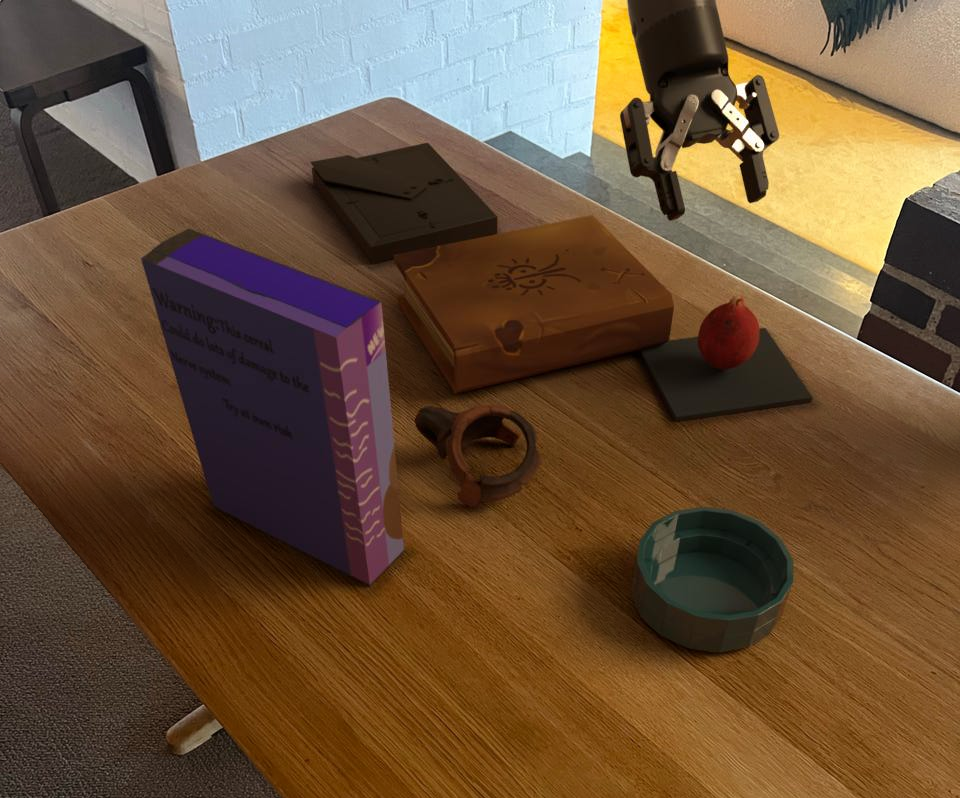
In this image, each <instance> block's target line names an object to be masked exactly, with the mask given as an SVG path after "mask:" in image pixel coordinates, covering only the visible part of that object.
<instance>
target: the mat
mask: <svg viewBox="0 0 960 798" xmlns="http://www.w3.org/2000/svg"><path fill="white" fill-rule="evenodd" d="M759 329H760V330H759V343H758V346H757V348H756V350H755V352H754V353H753V355H752V356H751V357H750V358H749V359H748V360H747V361H746V362H744V363H742V364H741V365H739V366H737V367H735V368H730V369H726V370H720V369H717V368H715V367H713V366H711V365H710V364H709V363H708V362H706V360H705V359H704V358H703V356H702V354H701V352H700V350H699V347H698V336H694V337H686V338H678V339H673V340H672V339H669V341H667V342H666V343H665V344H661V345H657V346H653V347H649V348H645V349H640V350H637V351H638V355H639V357H640V358H641V360H642V362H643V363H644V365H645V367H646V370H647V371H648V373H649V375H650V377H651V379H652V382H654V385H655V386H656V388H657V390H658V392H659V394H660V396H661V398H662V400H663V402H664V403H665V405H666V408H667V409H668V411H669V413H670V415H671V417H672V418H673V420H674V422H682V421H689V420H695V419H704V418H709V417H710V418H711V417H717V416H724V415H730V414H738V413H743V412H750V411H751V412H752V411H758V410H765V409H772V408H780V407H787V406H793V405H800V404H807V403H812V401H813V399H814V398H813V395H812V394H811V393H810V391H809V390H808V388H807V387H806V385H805V383H803V381H802V379H801V378H800V377H799V374H798V373H797V372H796V370H795V369H794V368H793V366H792V365H791V363H790V362H789V360H788V359H787V357H786V355H785V354H784V352H783V351H782V350H781V348H780V347H779V345H778V343H776V341H775V340H774V338H773V337H772V334H770V332H769V331H768V329H767V328H766V327H762V328H760V327H759Z"/></svg>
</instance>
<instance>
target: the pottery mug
mask: <svg viewBox="0 0 960 798" xmlns="http://www.w3.org/2000/svg"><path fill="white" fill-rule="evenodd" d="M504 419H506V420H509V421H511V422H512V423H514V424H515V425H516V426H517V427H518V428H519V429H520V431H521V432H522V434H523V436H524V438H525V442H526V451H525V456H524V458H523V460H522V462H521V463H520V464H519V465H518V466H517V467H516V468H515V469H514V470H512V471H510V472H508V473H506V474H503V475H496V476H495V475H493V476H492V475H485V474H482V473H480V474H479V480H478V479H477V478H475V477H473V476H472V475H471V474H470V472H469V471H470V465H469V464H468V463H467V461H466V459H465V458H464V457H465V456H464V455H463V453H462V449H463V448H464V447H466V446H467V445H468V444H470V443H471V442H474V441H477V440H481V439H485V438H491V439H496V440H500V441H502V442H504V443H506V444H508V445H510V446H511V447H516V446H517V443H518V441H519V439H520V438H521V433H520V432H519V431H518V430H517V429H514V428H513V427H511V426H510V424H507V423H506V422H504V421H503V420H504ZM414 424H415V428H416V430H418V432H419V433H420V435H422V436H423V437H424V438H425V439H426V440H427V441H428V442H430V443H431V444H432V445H433V446H434V447H435V448H436V451H437V452H438V456H439V459H441V460H442V461H443V460H446V459H447V461H448V463H449V465H450V469H451V471H452V473H453V476H455V478H456V480H457V481H458V483H460V484H461V486H460V490H459V491H458V492H457V499H458V501H460V502H461V503H463V504H464V505H467V506H469V507H471V508H473V507H475V506H478V505H479V503H480V504H482V505H486V504H490V503H494V502H498V501H502V500H504V499H507V498H509V497H512V496H514V495H515V494H518V493H520V492H521V491H523V487H522V486H523V485H525V486H526V485H529V483H530V482H531V480H532V479H533V477H534V475H535V474H536V471H537V470H538V469H539V467H540V466H541V465H542V464H543V461H544V460H543V458H542V455H541V453H540V451H539V449H537V442H538V431H537V430H536V428H535V427H534V426H533V425H532V424H531V422H529V420H527V419H526V418H525V417H524V416H523V415H521V414H520V413H519V412H517V411H516V410H513V409H512V408H509V407H505V406H503V405H497V404H481V405H476V406H472V407H470V408H468V409H466V410H463V411H460V412H454V411H451V410H448V409H446V408H443V407H440V406H433V405H425V406H423V407H421V408H420V409H418V412H417V414H416V415H415V417H414Z"/></svg>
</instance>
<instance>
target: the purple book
mask: <svg viewBox="0 0 960 798" xmlns="http://www.w3.org/2000/svg"><path fill="white" fill-rule="evenodd" d="M140 260H141V264H142V268H143V271H144V273H145V277H146V280H147V284H148V287H149V291H150V295H151V298H152V301H153V305H154V309H155V311H156V315H157V318H158V322H159V325H160V328H161V333H162V336H163V338H164V342H165V345H166V348H167V352H168V353H167V354H168V356H169V360H170V363H171V367H172V370H173V373H174V376H175V380H176V383H177V387H178V390H179V393H180V397H181V400H182V401H181V402H182V403H183V407H184V411H185V414H186V418H187V421H188V424H189V428H190V432H191V435H192V438H193V441H194V445H195V449H196V452H197V455H198V459H199V462H200V465H201V466H200V467H201V469H202V473H203V476H204V479H205V483H206V486H207V490H208V493H209V496H210V500H211V503H212V506H213V508H214V509H217V510H218V511H221V512H222V513H224V514H226V515H227V516H230V517H232V518H234V519H236V520H238V521H240V522H242V523H244V524H245V525H248V526H250V527H252V528H254V529H256V530H258V531H260V532H261V533H264V534H265V535H268V536H270V537H272V538H273V539H276V540H277V541H279V542H281V543H283V544H285V545H287V546H289V547H291V548H293V549H295V550H297V551H299V552H301V553H303V554H305V555H307V556H309V557H311V558H313V559H314V560H317V561H318V562H320V563H322V564H325V565H327V566H329V567H330V568H331V569H332V568H333V570H334V569H335V570H336V571H339V572H341V573H342V574H344V575H346V576H348V577H350V578H351V579H354V580H356V581H358V582H360V583H362V584H364V585H365V586H367V587H372V586H373V584H374V583H375V582H376V581H377V580H378V579H380V577H381V576H382V575H383V574H385V572H386V571H388V569H389V568H390V567H391V566H392V565H393V564H394V563H395V562H396V561H397V560H398V558H399V557H401V556H402V555H403V554H404V552H405V546H404V536H403V535H404V534H403V524H402V515H401V514H402V513H401V512H402V511H401V504H400V503H401V502H400V491H399V482H398V470H397V460H396V459H397V458H396V448H395V437H394V427H393V415H392V405H391V394H390V383H389V371H388V362H387V361H388V360H387V352H386V349H387V348H386V340H385V339H386V338H385V329H384V328H385V327H384V319H383V316H384V315H383V306H382V305H383V304H382V301H380V300H377V299H375V298H372V297H369V296H367V295H365V294H362V293H359V292H356V291H354V290H351V289H349V288H346V287H343V286H341V285H338V284H336V283H333V282H330V281H328V280H325V279H323V278H320V277H318V276H315V275H312V274H309V273H307V272H304V271H302V270H299V269H297V268H293V267H290V266H289V265H285V264H283V263H280V262H278V261H275V260H272V259H270V258H267V257H265V256H262V255H260V254H258V253H255V252H251V251H249V250H246V249H244V248H241V247H238V246H236V245H233V244H231V243H228V242H225V241H223V240H220V239H217V238H215V237H212V236H210V235H208V234H205V233H202V232H199V231H197V230H193V229H191V228H187V229H184V230H183V231H180V232H179V233H177V234H175V235H173V236H170V237H169V238H167V239H165V240H164V241H162V242H160V243H159V244H158V245H156V246H155V247H153V248H152V249H151V250H150V251H149V252H148V253H146V254H145V255H143V256H142V257H141V258H140Z"/></svg>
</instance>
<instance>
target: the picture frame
mask: <svg viewBox="0 0 960 798" xmlns="http://www.w3.org/2000/svg"><path fill="white" fill-rule="evenodd" d="M310 164H311V166H312V167H311V174H312V175H311V176H312V180H313V185H314V187H315V188H316V189H317V190H318V192H319V194H321V196H322V198H323V199H324V200H325V201H326V203H327V204H328V205H329V207H330V208H331V210H332V211H333V212H334V213H335V215H336V216H337V218H338V219H339V221H340V222H341V224H342V225H343V226H344V227H345V228H346V230H347V231H348V233H349V234H350V235H351V237H352V238H353V239H354V240H355V242H356V244H357V245H358V247H360V249H361V250H362V251H363V253H364V254H365V255H366V257H367V258H368V260H369V261H370V263H371V264H372V265H374V264H379V263H384V262H387V261H391V260H394V255H396V254H401V253H406V252H411V251H416V250H421V249H426V248H431V247H436V246H441V245H446V244H451V243H456V242H461V241H466V240H471V239H476V238H481V237H485V236H490V235H495V234H498V215H497V214H496V213H495V212H494V211H493V210H492V209H491V208H490V207H489V206H488V205H487V203H485V201H484V200H482V198H481V197H480V196H479V195H478V194H477V193H476V192H475V191H474V190H473V189H472V188H471V186H469V185H468V184H467V182H466V181H465V180H464V179H463V178H462V177H461V176H460V175H459V173H457V172H456V170H455V169H453V167H452V166H450V164H449V163H448V162H447V161H446V160H445V159H444V158H443V157H442V156H441V155H440V153H439V152H438V151H437V150H436V149H434V147H433V146H432V145H431V144H430V143H429V142H423V143H419V144H415V145H410V146H406V147H405V146H404V147H400V148H397V149H396V148H395V149H391V150H387V151H383V152H378V153H374V154H373V153H372V154H368V155H364V156H359V157H354V156H353V155H350V154H346V155H340V156H335V157H329V158H324V159H318V160H314V161H313V160H312V161H310Z"/></svg>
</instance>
